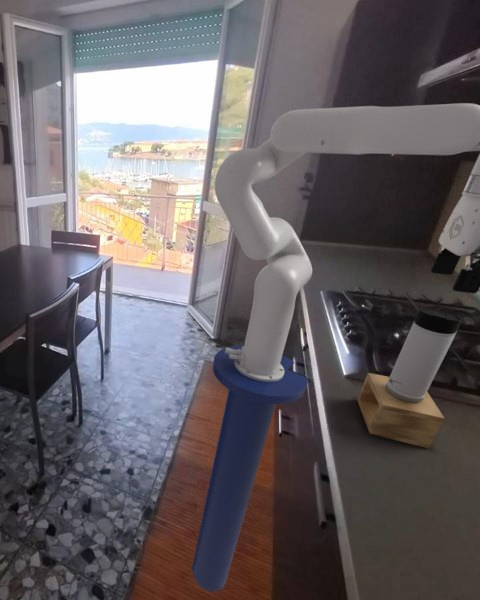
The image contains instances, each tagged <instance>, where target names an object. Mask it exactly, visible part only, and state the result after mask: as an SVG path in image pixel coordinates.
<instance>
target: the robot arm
mask: <svg viewBox="0 0 480 600" xmlns="http://www.w3.org/2000/svg"><path fill="white" fill-rule="evenodd" d="M466 152H480V105H479V104H477V103H470V102H469V103H465V102H463V103H462V102H461V103H445V104H443V103H442V104H423V105H422V104H420V105H402V106H401V105H400V106H377V105H365V106H363V105H362V106H346V107H345V106H344V107H343V106H342V107H328V108H327V107H324V108H302V109H301V108H300V109H294V110H290V111H289V110H288V111H287V112H285V113H283V114H281V115H280V116H279V117H278V118H277V119H276V120H275V122H274V123H273V125H272V127H271V131H270V137H269V138H268V139H266V140H265V141H264V142H262V144H260V145H259V146H257V147H250V148H243V149H238V150H237V151H234V152H233V153H231V154H229V155H228V156H227V157H226V158H225V159H224V160H223V161H222V162H221V164H220V166H219V167H218V170H217V172H216V175H215V179H214V193H215V197H216V199H217V202H218V204H219V206H220V208H221V210H222V211H223V213H224V215H225V217H226V219H227V221H228V223H229V225H230V227H231V230H232V231H233V233H234V235H235V237H236V240H237V241H238V243H239V245H240V247H241V249H242V251H243V252H244V254H245V255H246V257H248V258H249V259H250V260H253V261H264V260H265V261H266V263H267V264H266V265H265V266H264V267H263V268H262V269H261V270H260V271H259V272H258V274H257V276H256V278H255V281H254V287H253V299H252V307H251V312H250V316H249V321H248V325H247V331H246V335H245V340H244V345H241V346H242V350H240V349H238V350H235V349H231V348H227V347H225V348H226V350H225V354H228V355H229V359H235V367H236V368H237V370H238V371H239V372H240V373H242V374H243V375H245V376H246V377H249V378H251V379H254V380H257V381H262V382H275V381H278V380H280V379H282V378H283V376H284V368H283V366H282V365H281V364H280V362H281V358H282V355H283V354H284V350H285V347H286V343H287V339H288V336H289V333H290V329H291V324H292V320H293V317H294V311H295V306H296V299H297V296H298V293H299V292H300V290H301V289H302V288H304V287H305V286H306V285H307V284H308V283H309V281H310V280H311V278H312V276H313V266H312V263H311V260H310V257H309V256H308V254H307V252H306V250H305V248H304V246H303V244H302V242H301V240H300V238H299V237H298V235H297V233H296V231H295V230H294V227H293V226H292V225H291V224H290V223H289V222H288V221H287V220H285V219H283V218H281V217H277V216H273V217H272V216H271V217H270V215H269V214H268V212H267V210H266V209H265V206H264V204H263V202H262V201H261V199H260V197H259V196H258V195H257V194H256V193H255V192H254V190H253V187H252V186H253V185H256V184H259V183H263V182H266V181H268V180H271V178H273V177H274V176H276V175H277V174H278V173H280V172H281V171H283V170H284V169H286V168H288V166H290V165H291V164H293V163H294V162H295V161H297V160H299V159H300V158H301V157H302V156H304V155H305V154H332V155H333V154H334V155H369V154H381V155H382V154H383V155H415V156H417V155H419V156H420V155H421V156H422V155H423V156H452V155H457V154H462V153H466ZM475 161H476V162H475V163H474V165H473V168H472V170H471V172H470V175H469V176H468V179H467V181H466V184H465V185H464V188H463V190H462V193H461V195H462V196H461V197H460V199H459V200H458V202H457V203H456V205H455V207H453V210H452V212H451V214H450V216H449V218H448V220H447V221H446V223H445V226H444V227H443V230H442V232H441V233H440V236H439V238H438V243H439V245H440V247H439V249H438V253H437V255H436V258H435V260H434V261H433V264H432V267H431V269H430V272H431V273H432V274H437V275H448V276H451V275H453V274H454V272H455V269H456V268H457V265H458V263H459V261H460V259H461V257H463V256H464V255H465V261H464V268H461V269H460V270H459V272H458V275H457V277H456V279H455V281H454V283H453V284H452V288H451V289H452V291H454V292H459V293H467V294H477V293H478V292H479V290H480V153H479V154H478V156H477V159H476V160H475ZM475 260H476V261H475ZM243 346H244V347H243Z"/></svg>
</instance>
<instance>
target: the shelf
mask: <svg viewBox="0 0 480 600" xmlns="http://www.w3.org/2000/svg"><path fill="white" fill-rule="evenodd" d="M389 377H390V376H386V375H382V374H376V373H372V372H367V374H366V376H365V379H364V382H363V384H362V386H361V389H360V392H359V394H358V397H357V399H356V401H357V403H358V406H359V409H360V411H361V414H362V417H363V419H364V422H365V425H366V428H367V430H368V433H369V434H370V435H372V436H377V437H381V438H385V439H390V440H392V441H398V442H400V443H405V444H408V445H413V446H418V447H420V448H425V449H429V448H430V446H431V444H432V442H433V441H434V439H435V438H436V435H437V433H438V431H439V430H440V428H441V426H442V424H443V422H444V420H445V417H444V415H443V414H442V412H441V411H440V409H439V408H438V406H437V404H436V403H435V402H434V400H433V398H432V396H431V395H430V393H429V392H428V391H427V393H426V394H425V397H424V399H423V400H422V401H421V402H418V403H412V402H407V401H403V400H400V399H398V398H396V397H394V396H393V395H391V394H390V393H389V392H388V391H387V390H386V384H387V382H388V380H389Z"/></svg>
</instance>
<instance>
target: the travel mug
mask: <svg viewBox="0 0 480 600" xmlns="http://www.w3.org/2000/svg"><path fill="white" fill-rule="evenodd" d="M462 322H463V318H462V317H460V316H459V315H456V314H453V313H450V312H448V313H446V312H443V311H439V310H436V309H434V308H427V307H425V308H424V307H422V308H419V309H418V312H417V314H416V316H415V319H414V320H413V323H412V325H411V327H410V329H409V332H408V334H407V336H406V338H405V340H404V343H403V345H402V348H401V350H400V352H399V354H398V357H397V359H396V361H395V363H394V366H393V368H392V371H391V373H390V375H389V376H388V377H389V380H388V382H387V384H386V390H387V391H388V392H389V393H390V394H391V395H393V396H394V397H396V398H398V399H400V400H403V401H407V402H412V403H418V402H421V401H422V400H423V399H424V397H425V394H426V393H427V392H428V390H429V388H430V386H431V385H432V382H433V381H434V380H435V377H436V375H437V373H438V371H439V369H440V367H441V365H442V363H443V360H444V359H445V356H446V355H447V353H448V350H449V349H450V347H451V345H452V343H453V341H454V339H455V336H456V334H457V332H458V329H459V328H460V326H461V324H462Z"/></svg>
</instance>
